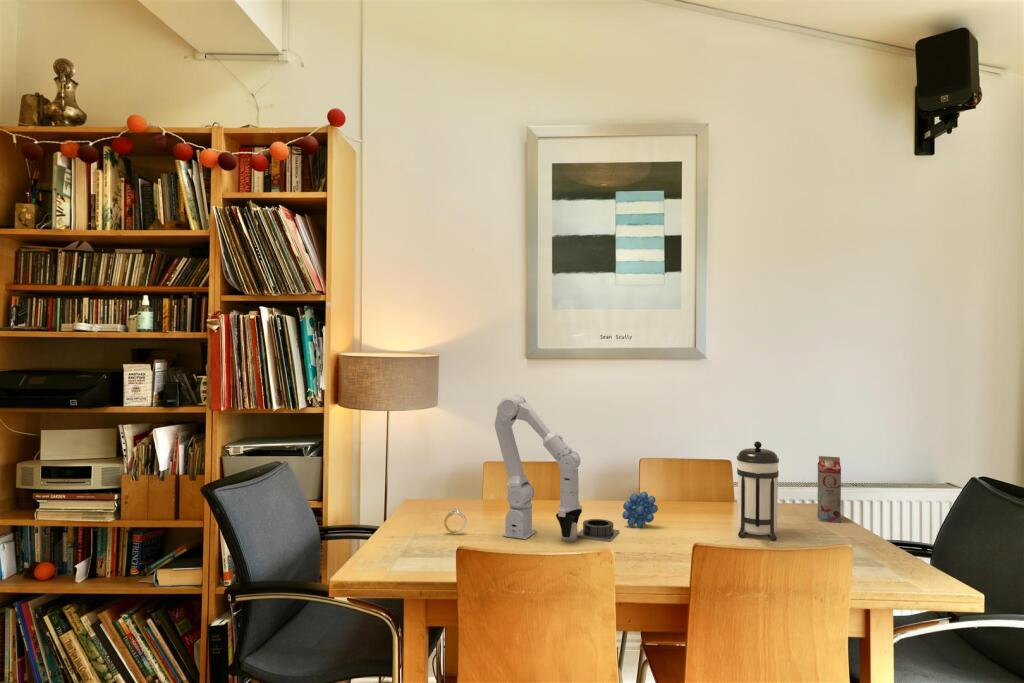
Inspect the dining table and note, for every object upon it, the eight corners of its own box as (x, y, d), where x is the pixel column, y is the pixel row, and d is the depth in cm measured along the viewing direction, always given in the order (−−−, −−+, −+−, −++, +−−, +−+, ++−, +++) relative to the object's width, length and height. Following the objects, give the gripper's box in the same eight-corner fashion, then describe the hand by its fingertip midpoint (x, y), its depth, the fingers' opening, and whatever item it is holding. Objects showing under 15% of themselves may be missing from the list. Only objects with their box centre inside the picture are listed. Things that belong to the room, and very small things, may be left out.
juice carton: (840, 523, 232) (841, 458, 232) (819, 521, 234) (819, 457, 234) (838, 518, 238) (838, 455, 238) (817, 516, 241) (817, 454, 240)
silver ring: (443, 535, 216) (443, 510, 216) (445, 532, 219) (445, 507, 219) (465, 535, 215) (465, 510, 215) (466, 533, 219) (466, 508, 219)
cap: (574, 542, 209) (574, 526, 209) (558, 540, 211) (558, 524, 211) (579, 537, 214) (579, 522, 214) (564, 535, 216) (564, 520, 216)
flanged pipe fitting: (610, 541, 210) (610, 529, 210) (576, 537, 214) (576, 525, 214) (619, 532, 220) (619, 520, 220) (586, 528, 224) (586, 517, 224)
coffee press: (720, 531, 222) (720, 439, 222) (759, 526, 227) (760, 437, 227) (757, 546, 205) (757, 447, 205) (798, 541, 211) (799, 444, 211)
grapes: (657, 524, 229) (657, 489, 229) (658, 530, 222) (658, 493, 222) (622, 523, 231) (622, 487, 231) (622, 528, 224) (622, 492, 224)
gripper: (574, 497, 204) (573, 542, 204) (588, 487, 217) (588, 529, 218) (552, 495, 207) (551, 539, 207) (567, 485, 220) (567, 527, 220)
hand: (569, 534), depth 212 cm, fingers closed on cap, 5 cm apart
